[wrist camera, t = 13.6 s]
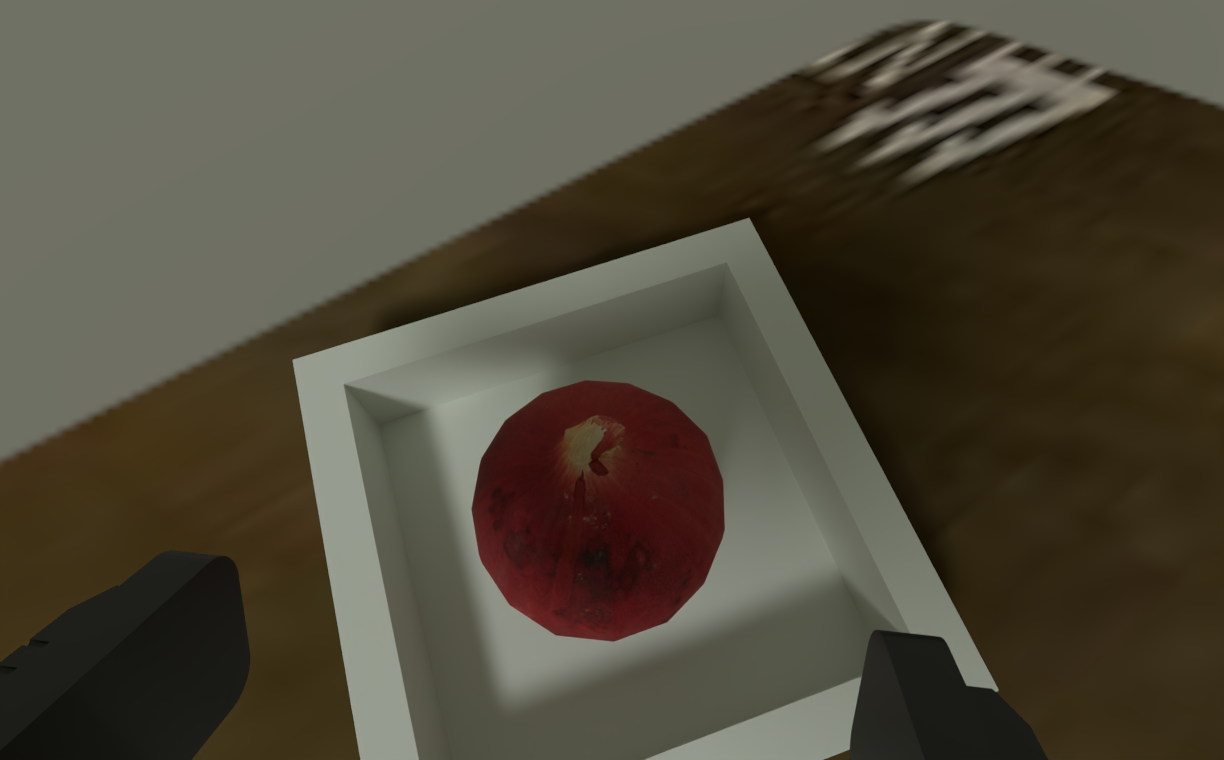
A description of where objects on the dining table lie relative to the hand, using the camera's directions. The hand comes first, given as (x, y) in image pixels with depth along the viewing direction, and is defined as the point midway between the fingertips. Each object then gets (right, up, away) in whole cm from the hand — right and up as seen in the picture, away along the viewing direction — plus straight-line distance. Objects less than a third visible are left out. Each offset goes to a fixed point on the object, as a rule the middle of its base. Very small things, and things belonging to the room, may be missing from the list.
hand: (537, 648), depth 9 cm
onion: (+1, -1, +12) cm, 12 cm away
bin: (+1, -1, +12) cm, 12 cm away
